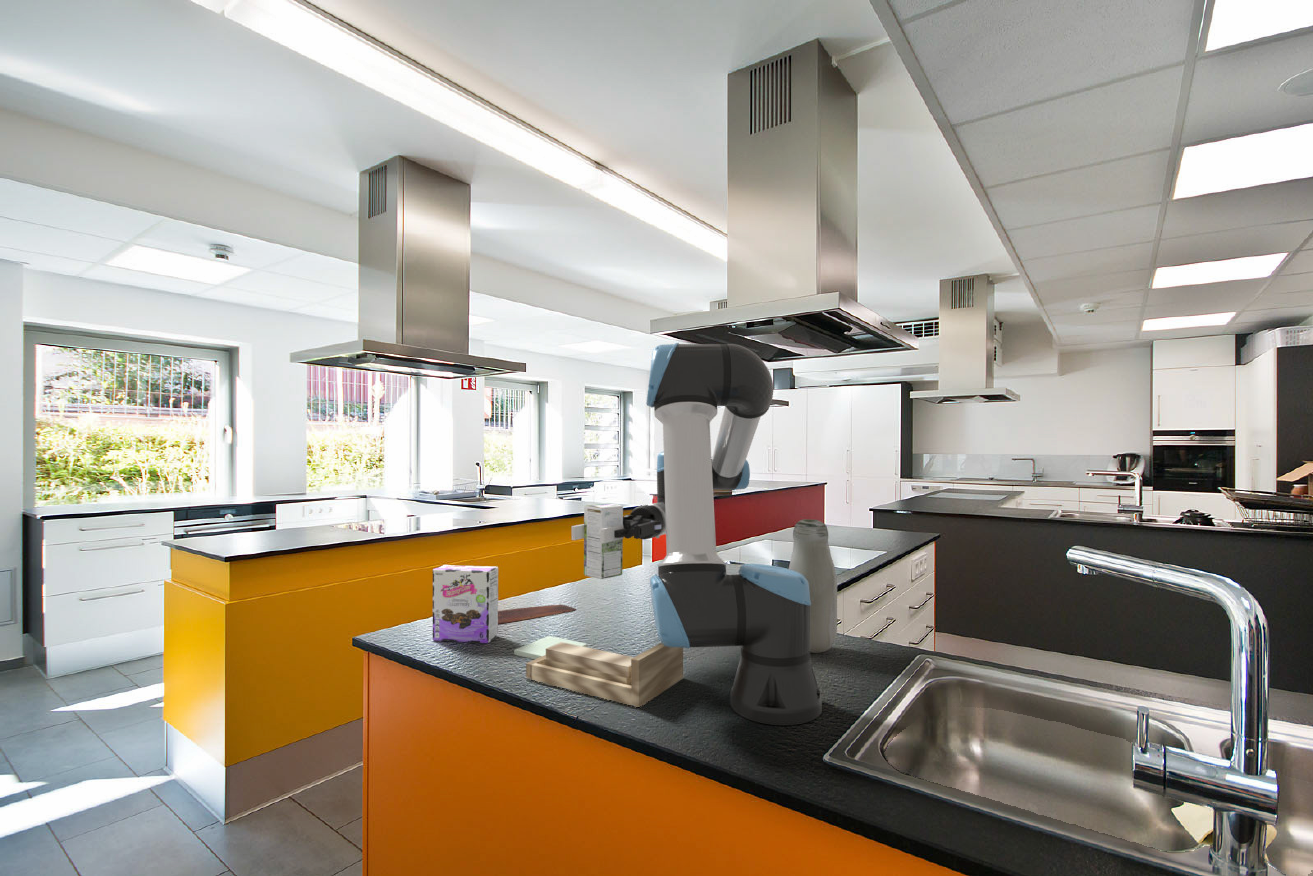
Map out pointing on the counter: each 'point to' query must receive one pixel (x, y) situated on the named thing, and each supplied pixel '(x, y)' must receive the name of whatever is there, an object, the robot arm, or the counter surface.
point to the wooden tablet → (531, 613)
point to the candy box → (465, 603)
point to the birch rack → (647, 682)
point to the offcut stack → (590, 662)
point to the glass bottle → (817, 580)
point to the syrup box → (597, 555)
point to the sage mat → (542, 647)
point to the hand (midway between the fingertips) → (587, 534)
